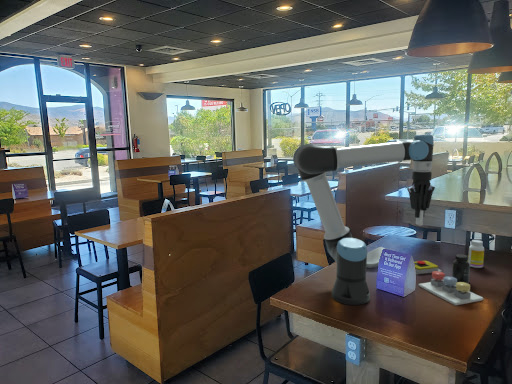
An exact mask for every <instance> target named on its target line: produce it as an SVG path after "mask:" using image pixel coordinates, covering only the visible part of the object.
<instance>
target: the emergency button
mask: <svg viewBox="0 0 512 384" xmlns="http://www.w3.org/2000/svg"><path fill="white" fill-rule="evenodd" d="M413 262H414V263H415V269H416V274H415V275H424V274H432V272H433V271H439V272H443V271H442V269H440V268H439V265H437V264H435V263H433V262H431V261H428V260H417V261H413Z"/></svg>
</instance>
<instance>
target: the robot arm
mask: <svg viewBox="0 0 512 384" xmlns="http://www.w3.org/2000/svg"><path fill="white" fill-rule="evenodd" d="M434 146H435V144H434V135H432V134H415V135H414V138H412V139H395V138H394V139H389V140H387V141H386V143H378V144H377V143H376V144H375V143H374V144H366V145H357V146H355V145H354V146H345V147H338V148H337V146H335V145H331V146H322V145H315V144H312V143H305V144H302V145H300V146H298V147H297V148H296V150H295V151H294V153H293V156H292V161H293V164H294V167H295V168H296V169H297V172H298V175H299V176H300V179H301V181H303V182H304V183H306V185H307V187H308V190H309V193H310V195H311V197H312V200H313V203H314V206H315V208H316V211H317V213H318V216H319V218H320V221H321V224H322V226H323V229H324V232H325V233H324V235H323V238H324V241H325V247H326V251H327V253H328V255H329V256H330V257H331V258H332V259H333V260H334V262H335V263H336V278H335V281H334V284H333V287H332V289H331V297H332V299H333V300H334V301H336V302H338V303H341V304H344V305H348V306H349V305H350V306H361V305H365V304H366V303H369V301H370V298H371V294H370V290H369V287H368V282H367V267H366V264H367V253H368V247H367V244H366V243H365V242H364V241H363V240H361V239H358V238H356V237H355V238H354V237H353V235H352V232H351V229H350V227H348V226H345V223H344V221H343V218H342V216H341V212H340V210H339V207H338V205H337V203H336V199H335V196H334V194H333V191H332V189H331V186H330V183H329V181H328V178H327V174H328V173H329V172H337V171H338V169H339V168H349V167H357V166H365V165H375V164H384V163H394V162H402V161H403V162H405V161H412V170H413V171H412V184H411V186H410V187H409V186H408V187H407V188H406V190H407V192H408V195H409V201H410V202H409V203H410V208H411V210H414V218H415V225H417V226H419V227H420V226H424V225H423V224H424V218H425V211H427V210H428V209H429V208H430V205H431V201H432V196H433V193H434V191H435V189H436V187H435V186H433V185H432V184H431V180H432V172H431V171H432V169H433V155H434V154H433V153H434Z"/></svg>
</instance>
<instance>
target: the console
mask: <svg viewBox="0 0 512 384" xmlns="http://www.w3.org/2000/svg"><path fill="white" fill-rule="evenodd" d="M443 281H444V280H440V281H439V282H437V281H436V279H434V278H431V279H430V281H428V282H423V283H418V287H420V288H422V289H423V290H425V291H427V292H429V293H431V294H433V295H435V296H436V297H438V298H441V299H443V300H445V301H446V302H448V303H450V304H451V305H453V306H459V305H464V304H469V303H471V304H472V303H475V302H480V301H484V297H483V296H481V295H478V294H476V293H474V292H473V291H471V290H470V291H469V292H465V293H464V294H462V293H460V291H459V290H457V289H456V285H455V286H452V287H448V285H446V284H444V283H443Z"/></svg>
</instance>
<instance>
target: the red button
mask: <svg viewBox="0 0 512 384" xmlns="http://www.w3.org/2000/svg"><path fill="white" fill-rule="evenodd" d="M444 277H446V273H445V272H443V271H441V272H439V271H433V272H432V273H431V279H436V281H437V282H439V281H440V280H444Z"/></svg>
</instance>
